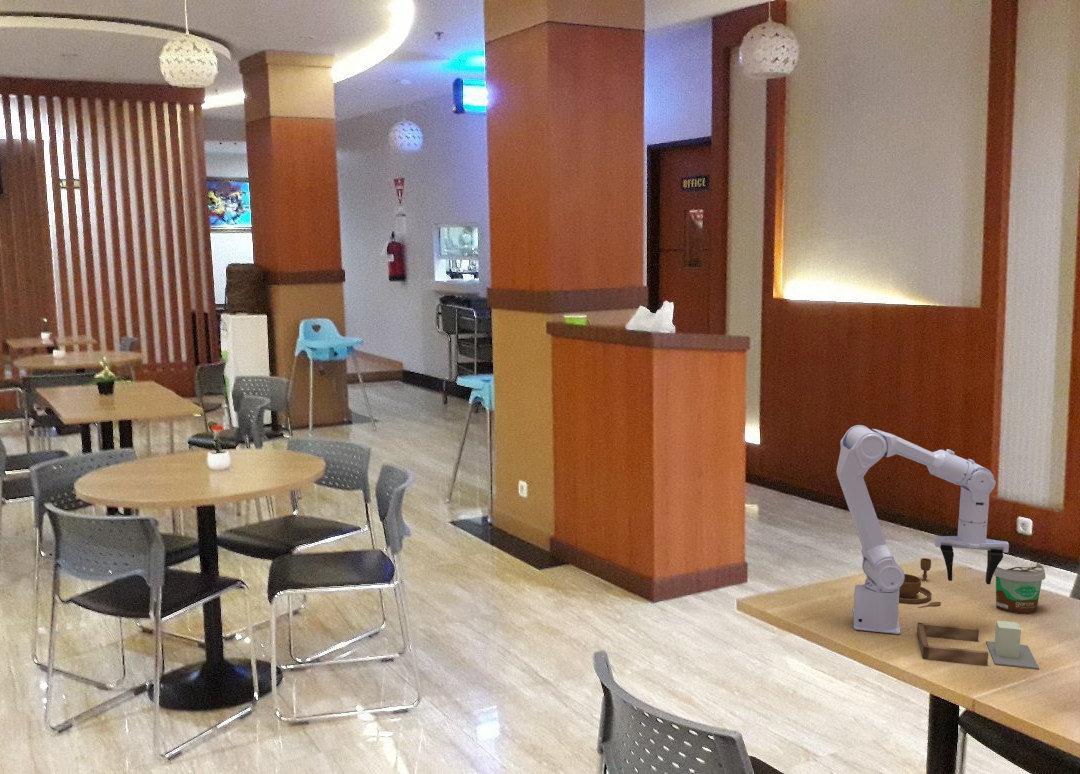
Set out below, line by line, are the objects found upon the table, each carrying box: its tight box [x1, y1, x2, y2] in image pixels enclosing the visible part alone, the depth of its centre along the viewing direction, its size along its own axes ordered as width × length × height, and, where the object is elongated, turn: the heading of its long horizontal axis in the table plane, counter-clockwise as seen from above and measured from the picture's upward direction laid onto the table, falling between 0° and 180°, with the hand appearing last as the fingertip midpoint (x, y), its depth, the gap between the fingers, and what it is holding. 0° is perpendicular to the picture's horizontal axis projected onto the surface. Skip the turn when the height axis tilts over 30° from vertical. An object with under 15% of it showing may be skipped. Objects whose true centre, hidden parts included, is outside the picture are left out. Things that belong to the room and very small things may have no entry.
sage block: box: [994, 620, 1022, 658], centre depth 208 cm, size 4×4×6 cm
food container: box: [993, 562, 1046, 615], centre depth 233 cm, size 12×6×10 cm, turn 105°
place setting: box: [899, 557, 942, 609], centre depth 244 cm, size 18×20×6 cm
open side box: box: [916, 622, 989, 666], centre depth 211 cm, size 12×14×2 cm
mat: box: [985, 640, 1040, 670], centre depth 208 cm, size 8×12×1 cm, turn 165°
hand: (968, 581), depth 222 cm, fingers open, 7 cm apart
